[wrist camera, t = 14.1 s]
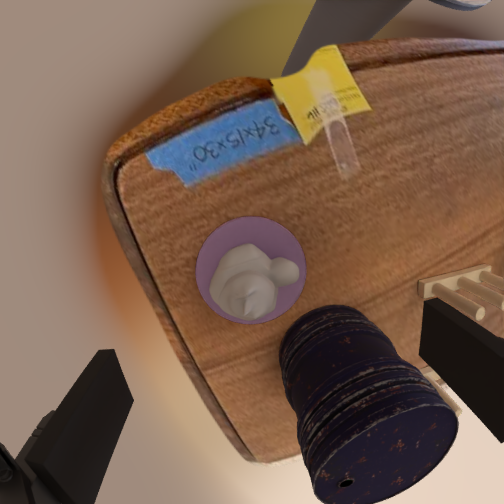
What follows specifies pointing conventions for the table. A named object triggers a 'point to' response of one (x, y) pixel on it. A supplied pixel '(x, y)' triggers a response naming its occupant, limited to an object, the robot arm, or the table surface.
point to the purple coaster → (263, 237)
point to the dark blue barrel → (360, 408)
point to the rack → (461, 303)
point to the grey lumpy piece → (250, 281)
